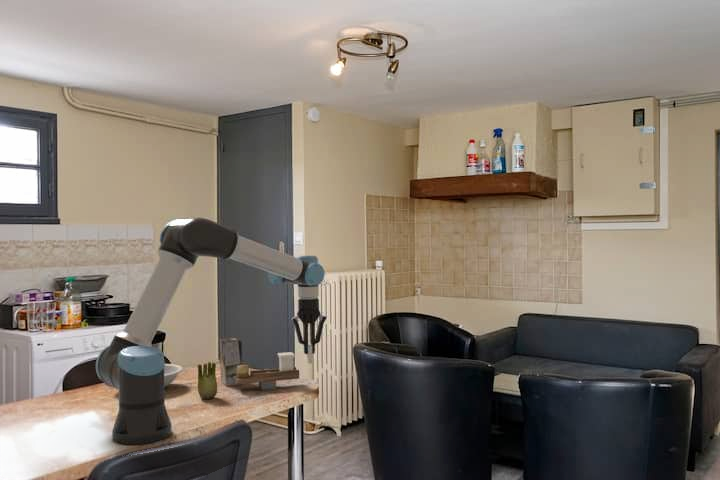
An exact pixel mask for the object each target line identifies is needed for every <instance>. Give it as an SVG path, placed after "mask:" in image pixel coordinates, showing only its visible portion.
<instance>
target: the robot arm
mask: <svg viewBox="0 0 720 480" xmlns="http://www.w3.org/2000/svg"><path fill="white" fill-rule="evenodd" d="M159 234H160V235H159V242H160V245H159V247H158V249H157V251H156V252H157V255H158V261H157V263H156V265H155V267H154V269H153V271H152V273H151V275H150V277H149V279H148V281H147V283H146V285H145V287H144V289H143V290H142V293H141V295H140V297H139V299H138V301H137V302H136V305H135V307H134V309H133V311H132V313H131V314H130V317H129V319H128V321H127V323H126V324H125V327H124V329H123V330H122V332H119V333H116V334H115V335H114V337H112V341H111V342H110V344H109V345H108V346H106V347H105V348H104V349H102V350H101V352H100V353H99V354H98V356H97V358H96V361H95V371H96V375H97V376H98V378H99V379H100V380H101V381H102V382H103V383H104V384H105V385H106V386H108V387H111V388H114V389H115V390H118V412H117V414H116V418H115V421H114V424H113V428H112V431H111V433H112V435H111V437H112V441H113V442H114V443H116V444H120V445H131V446H132V445H143V444H149V443H154V442H159V441H161V440H163V439H165V438H167V437H169V436H171V434H172V433H173V431H172V429H173V428H172V426H173V425H172V421H171V419H170V416H169V414H168V410H167V407H166V404H165V403H166V402H165V387H164V366H165V364H166V361H165V358H164V353H163V351H162V350H161V349H160V348H157V347H156V346H153V345H152V342H153V339H154V337H155V335H156V333H157V331H158V329H159V327H160V325H161V322H162V321H163V318H164V316H165V315H166V312H167V311H168V309H169V306H170V304H171V303H172V300H173V298H174V296H175V294H176V292H177V290H178V288H179V286H180V283H181V282H182V279H183V278H184V275H185V273H186V271H187V270H189V269H192V268H193V267H194V266H195V264H196V262H197V260H198V257H209V258H216V259H219V260H223V261H227V260H233V261H236V262H239V263H242V264H245V265H247V266H250V267H253V268H256V269H259V270H262V271H265V272H267V277H268V280H269V281H270V283H272V284H273V285H285V284H286V285H287V284H289V285H297V297H298V299H297V306H298V307H297V308H298V311H297V313H296V315H295V316H293V317H291V319H290V320H291V322H292V323H293V325H294V328H295V330H294V331H295V332H296V336H297V340H298V343H299V344H301V345H303V353H304V355H306V363H307V364H313V354H315V353H316V344H319V343H320V342H321V339H322V338H321V337H322V334H323V328H324V323H325V322H326V319H327V316H325V315H323V314H321V311H320V299H319V298H318V297H319V296H320V293H319V292H320V291H319V285H320V284H321V283H322V282H323V281H324V278H325V269H324V266H322V265H321V264H320V263H319V259H318V256H316V255H299V256H297V257H295V256H293V255H291V254H288V253H284V252H283V251H280V250H278V249H274V248H272V247H270V246H267V245H264V244H262V243H260V242H259V243H258V242H256V241H254V240H252V239H248V238H246V237H243V236H241V235H239V233H238V232H237V230H235V229H233V228H231V227H227V226H225V225H223V224H221V223H218V222H216V221H213V220H211V219H208V218H205V217H194V218H193V217H191V218H186V217H184V218H181V217H180V218H177V219H174V220H172V221H170V222H168V223H167V224H165V225H164V227H163V228H162V230H161V232H160V233H159ZM299 321H301V322H302V326H303V327H302V329H303V330H302V332H301V328H300V323H299ZM317 321H318V325H317V329H316V322H317ZM302 334H303V335H302ZM309 335H310V336H309Z"/></svg>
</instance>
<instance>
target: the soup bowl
mask: <svg viewBox="0 0 720 480" xmlns="http://www.w3.org/2000/svg"><path fill="white" fill-rule="evenodd" d="M183 371H184V367H183V366H181V365H178V364H173V363H165V366H164V388H165V387H168V386H169V385H171V383H173V382H174V381H175V380H176V379H177V377H178V375H179V374H180V373H181V372H183Z"/></svg>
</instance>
